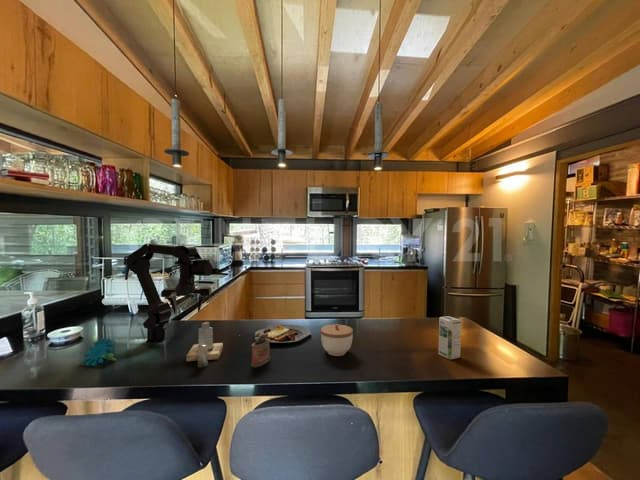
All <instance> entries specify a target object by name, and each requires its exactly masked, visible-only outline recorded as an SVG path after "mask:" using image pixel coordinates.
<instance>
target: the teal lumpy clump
mask: <svg viewBox="0 0 640 480" xmlns="http://www.w3.org/2000/svg"><path fill="white" fill-rule="evenodd" d="M114 343H115V342H114V341H112V340H111V339H110V338H109V337H107V338H106V339H105V338H100V341H94V342H93V345H94V346H91V345H90V346H89V347H88V348H87V350H88V351H89V353H88V352H85V353H84V354H83V357H85V358H83V360H82V363H83V364H84V363H85V365H86V366H87V367H89V366H92V367H96V366H97V364H98V363H99V364H102V363H104V359H106V360H108V361H110V360H111V361H113V362H116V361H117V359H116V358H114V356H115V355H114V354H113V353H112V351H114V347H113V346H114V345H115V344H114ZM108 351H109V353H108ZM87 357H88V358H87Z"/></svg>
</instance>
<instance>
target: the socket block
mask: <svg viewBox="0 0 640 480" xmlns="http://www.w3.org/2000/svg"><path fill="white" fill-rule="evenodd" d="M198 345H199V343H196V344H192V347H191V348H190V350H189V351H188V353H187V354H186V356H185V357H186V362H192V361H193V362H194V361H197V362H198ZM223 349H224V343H223V342H216V343H215V342H213V350H212V351H209V352H208V361H209V360H219V358H220V356H221V354H222V351H223Z"/></svg>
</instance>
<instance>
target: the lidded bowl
mask: <svg viewBox="0 0 640 480" xmlns="http://www.w3.org/2000/svg"><path fill="white" fill-rule="evenodd" d="M353 334H354V330H353V328H352V327H350V326H348V325H345V324H344V325H343V324H338V323H335V324H326V325H324V326H322V327H321V328H320V339H321V345H322V346H323V349H324V350H325V352H327V354H328V355H330V356H333V357H341V356H344V355H346V353H347V352H348V351H349V350H350V349H351V346H352V343H353Z"/></svg>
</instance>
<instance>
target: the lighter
mask: <svg viewBox="0 0 640 480" xmlns="http://www.w3.org/2000/svg"><path fill="white" fill-rule="evenodd" d="M266 337H268V333H265V334H262V335H258V336H257V337H254V342H253V343H252V344H251V349H252V350H251V367H252V368H258V367H261V366H264V365H265V364H267V363H268V362H270V360H271V357H270V343H269V342H270V339H266Z"/></svg>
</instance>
